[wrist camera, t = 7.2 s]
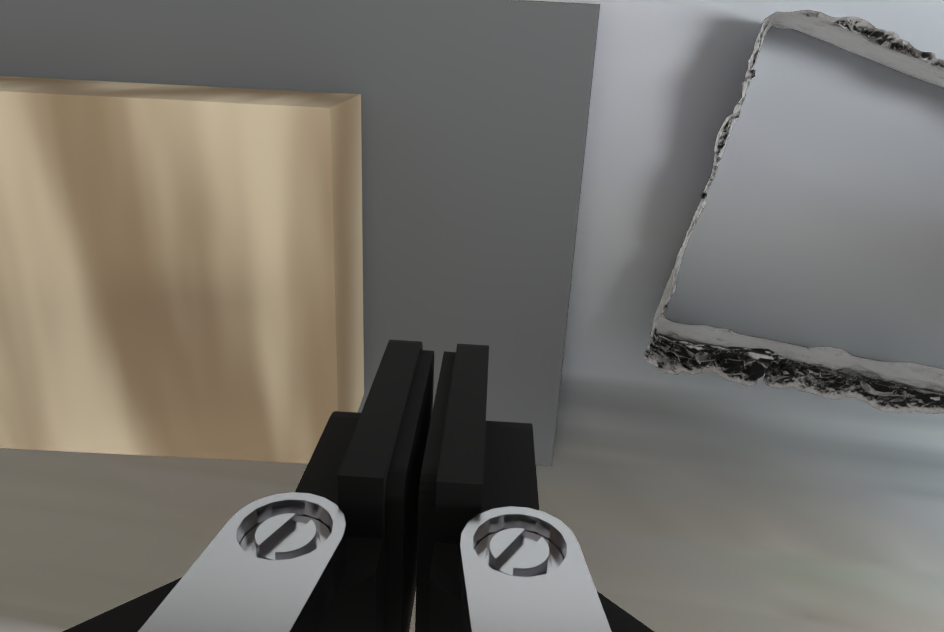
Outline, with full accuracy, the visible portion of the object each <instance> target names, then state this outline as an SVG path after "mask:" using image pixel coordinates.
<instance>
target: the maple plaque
mask: <svg viewBox="0 0 944 632" xmlns="http://www.w3.org/2000/svg"><path fill="white" fill-rule="evenodd" d="M363 395H364V337H363V239H362V142H361V94H346V93H326V92H306V91H287V90H267V89H247V88H228V87H208V86H188V85H169V84H149V83H129V82H110V81H90V80H70V79H51V78H31V77H11V76H0V448H8V449H28V450H48V451H67V452H87V453H107V454H126V455H146V456H165V457H185V458H205V459H224V460H244V461H264V462H283V463H303V464H308V463H309V461H310V459H311V457H312V454H313V452H314V450H315V448H316V446H317V444H318V441H319V439H320V437H321V435H322V433H323V431H324V428H325V426H326V424H327V422H328V420H329V418H330V416H331V414H332V413H333V412H334V411H342V412H358V410H359V407H360V404H361V401H362V398H363Z"/></svg>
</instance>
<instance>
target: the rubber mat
mask: <svg viewBox="0 0 944 632" xmlns="http://www.w3.org/2000/svg"><path fill="white" fill-rule="evenodd" d="M599 9H600V4H584V3H564V2H544V1H524V0H0V76H11V77H31V78H51V79H70V80H90V81H110V82H129V83H149V84H169V85H188V86H208V87H228V88H247V89H267V90H287V91H306V92H326V93H346V94H361V142H362V239H363V337H364V395H363V398H362V401H361V404H360V407H359V410H358V413H361V412H362V410H363V407H364V404H365V402H366V399H367V396H368V394H369V391H370V389H371V386H372V383H373V381H374V378H375V375H376V373H377V370H378V368H379V365H380V362H381V360H382V357H383V354H384V352H385V349H386V347H387V344H388V341H389V340H405V341H421V342H422V344H423V350H430V351H434V388H433V406H434V401H435V395H436V390H437V385H438V380H439V374H440V369H441V364H442V359H443V353H444V351H447V352H456V348H457V344H472V345H488V346H489V362H488V383H487V405H486V421H502V422H518V423H532V426H533V437H534V450H535V463H536V465H546V466H552V459H553V449H554V440H555V430H556V421H557V411H558V402H559V392H560V382H561V373H562V363H563V354H564V344H565V335H566V325H567V315H568V306H569V296H570V287H571V277H572V268H573V258H574V248H575V239H576V229H577V220H578V210H579V201H580V191H581V181H582V172H583V162H584V153H585V143H586V134H587V124H588V114H589V105H590V95H591V86H592V76H593V66H594V57H595V47H596V38H597V28H598V19H599Z"/></svg>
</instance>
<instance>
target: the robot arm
mask: <svg viewBox="0 0 944 632" xmlns="http://www.w3.org/2000/svg"><path fill="white" fill-rule="evenodd" d="M488 362H489V346H488V345H472V344H457V348H456V352H447V351H444V353H443V359H442V364H441V369H440V374H439V380H438V385H437V390H436V395H435V401H434V406H433V388H434V351H430V350H423V344H422V342H421V341H405V340H389V341H388V344H387V347H386V349H385V352H384V354H383V357H382V360H381V362H380V365H379V368H378V370H377V373H376V375H375V378H374V381H373V383H372V386H371V389H370V391H369V394H368V396H367V399H366V402H365V404H364V407H363V410H362V412H361V413H358V412H342V411H334V412H333V413H332V414H331V416H330V418H329V420H328V422H327V424H326V426H325V428H324V431H323V433H322V435H321V437H320V439H319V441H318V444H317V446H316V448H315V450H314V452H313V454H312V457H311V459H310V461H309V463H308V465H307V468H306V470H305V472H304V474H303V476H302V478H301V481H300V483H299V485H298V487H297V489H296V491H295V492H290V493H282V494H274V495H271V496H268V497H265V498H261V499H258V500H256V501H254V502H252V503H250V504H249V505H247V506H245V507H243V508H242V509H240V510H239V511H238V512H237V513H236V514H235V515H234V516H233V517H232V518H231V519H230V520H229V521H228V522H227V523H226V525H225V526H224V527H223V528H222V530H221V531H220V532H219V533H218V534H217V536H216V537H215V538H214V539H213V541H212V542H211V543H210V544H209V545H208V547H207V548H206V549H205V550H204V552H203V553H202V554H201V555H200V556H199V558H198V559H197V560H196V561H195V563H194V564H193V565H192V566H191V567H190V569H189V570H188V571H187V572H186V574H185V575H184V576H183V577H182V578H180V579H177V580H175V581H173V582H171V583H169V584H166V585H164V586H162V587H160V588H158V589H155V590H153V591H151V592H149V593H147V594H144V595H142V596H140V597H138V598H136V599H133V600H131V601H129V602H127V603H125V604H122V605H120V606H118V607H116V608H114V609H111V610H109V611H107V612H105V613H103V614H101V615H98V616H96V617H94V618H92V619H90V620H87V621H85V622H83V623H81V624H79V625H76V626H74V627H72V628H70V629H68V630H65V631H63V632H409V628H410V622H411V616H412V609H413V603H414V597H415V591H416V622H415V632H654V631H652V630H651V629H650V628H648V627H647V626H645V625H644V624H643V623H641V622H640V621H638V620H637V619H635V618H634V617H633V616H631V615H630V614H628V613H627V612H626V611H624V610H623V609H621V608H620V607H619V606H617V605H616V604H614V603H613V602H611V601H610V600H609V599H607V598H606V597H604V596H603V595H602V594H600V593H599V592H597V591H596V588H595V586H594V583H593V580H592V577H591V575H590V572H589V569H588V567H587V564H586V561H585V559H584V556H583V553H582V550H581V548H580V545H579V542H578V540H577V539H576V537H575V535H574V534H573V532H572V530H571V529H570V528H569V527H567V526H566V525H565V524H564V523H563V522H562V521H560V520H559V519H557V518H555V517H553V516H551V515H549V514H547V513H545V512H542V511H539V503H538V490H537V477H536V463H535V450H534V437H533V426H532V423H518V422H502V421H486V405H487V383H488Z"/></svg>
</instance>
